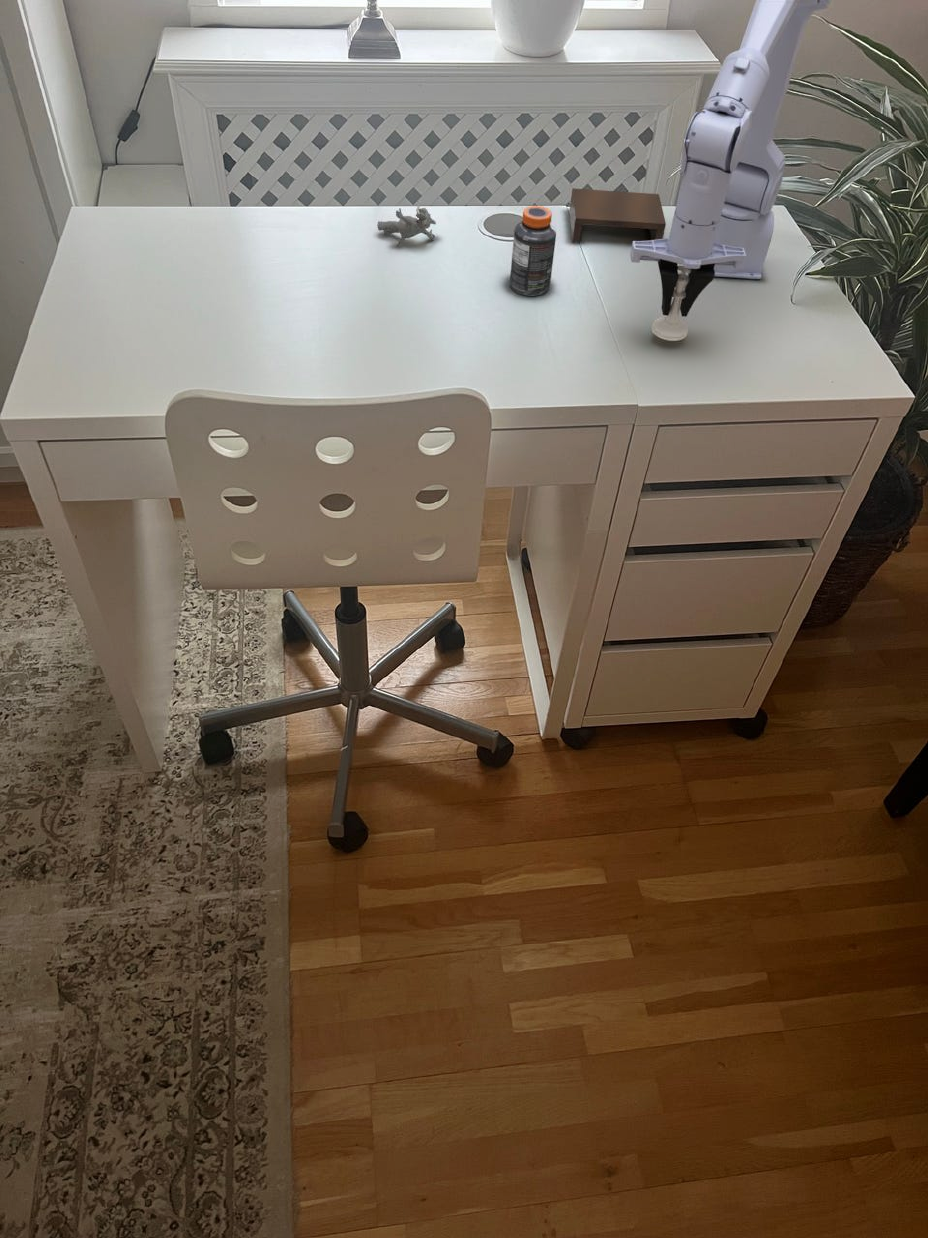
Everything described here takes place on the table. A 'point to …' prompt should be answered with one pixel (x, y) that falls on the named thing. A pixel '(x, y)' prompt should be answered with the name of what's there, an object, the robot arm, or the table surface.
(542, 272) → the pill bottle
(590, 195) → the walnut shelf
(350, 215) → the table surface
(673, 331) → the chess piece
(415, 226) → the grey creature figurine
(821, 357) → the table surface
